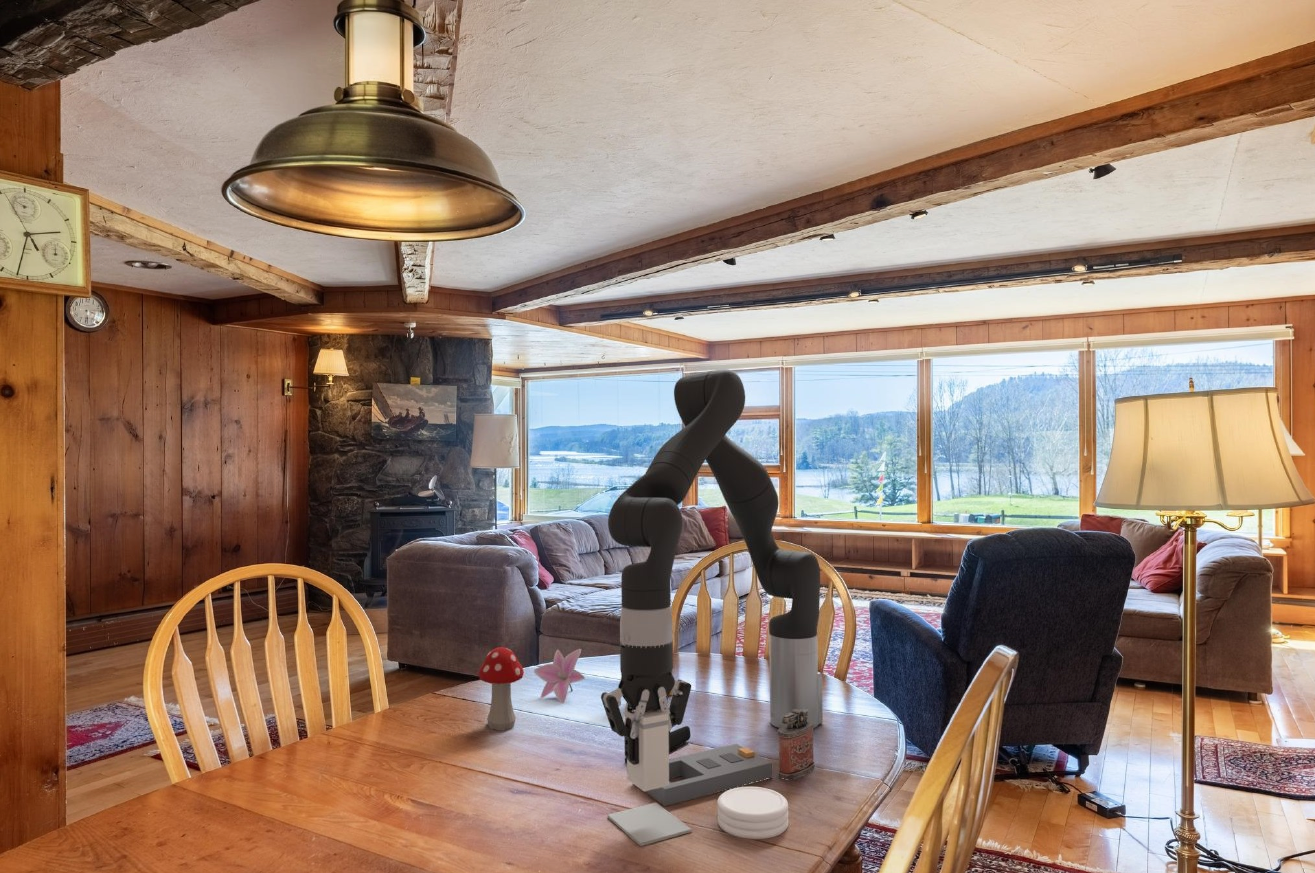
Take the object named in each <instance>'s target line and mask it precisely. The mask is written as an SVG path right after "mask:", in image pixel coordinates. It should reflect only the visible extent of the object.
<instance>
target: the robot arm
mask: <svg viewBox="0 0 1315 873" xmlns="http://www.w3.org/2000/svg"><path fill="white" fill-rule="evenodd" d="M673 397H674V398H673V399H674V403H675V407H676V408H675V409H676V411H677V413H678V415H679V418H680V419H681V421H682V423H683V425H684V427H683V428H682V429H681V430H679V431H678V432H677V433H675V434H674V435H673V436H671V437H670V438H669V439H668V440H667V441H666V442H665V443H664V444H663V445H662V446H661V447H660V448H659V450H658V451H657V452H656V454H655V455H654V458H653V459H652V461H651V462H650V464H649V466H648V468H647V469H646V472H645V473H644V474H643V475H641V476H640V477H639V478H638V479H636V480H635V481H634V482H633V483H632V484H630V486H629V487H628V488H627V489H625V490H624V491H623V492H622V493H621V494H620V495H619V496H618V498H617V499H616V500H615V501H614V503H613V504H612V507H611V508H610V511H609V514H608V519H607V526H608V527H607V528H608V532H609V534H610V536H611V539H612V540H613V541H614V542H615V543H617V544H619V545H620V546H624V547H625V546H626V547H640V548H641V547H642V548H643V547H644V548H650V552H649V554H648V556H647V559H646V560H645V561H642V562H636V563H632V564H628V565H626V566H625V567H624V568H623V569H622V572H621V580H620V581H621V584H620V585H621V588H620V589H621V590H620V591H621V611H620V619H619V620H620V621H619V644H620V645H619V657H620V658H619V660H620V662H619V664H620V665H619V666H620V667H619V668H620V676H621V677H620V680H619V683H618V686H617V688H616V689H614V690H612V691H610V692H606V691H605V692H602V693H601V695H600V699H601V702H602V705H603V708H604V710H605V714H606V717H607V718H606V719H607V720H608V724H609V727H610V729H611V731H612V732H614V733H616V734H617V735H618V736H620V737H624V757H625V758H626V759H628V761H629V762H630V763H632V764H633V765H636V764H639V738H638V737H637V736H638V732H639V722H640V720H641V717H642V716H644V713H645V712H647V711H649V710H660V712H662V713H663V712H666V713H668V720H669V724H668V727H669V753H670V752H671V751H670V732H672V731H671V730H672V728H673V727H675V726H676V725H677V726H680V725H682V723H683V721H684V717H685V713H686V710H687V706H688V702H689V698H690V695H691V690H692V685H691V683H689V682H687V681H685V680H682V679H675V677H674V675H673V669H674V641H673V640H674V638H673V637H674V629H673V628H674V627H673V626H674V625H673V623H674V622H673V614H672V606H671V602H672V598H671V592H672V591H671V578H672V572H673V571H672V570H673V566H674V562H675V557H676V554H677V549H678V546H679V543H680V539H681V534H682V530H683V516H682V512H681V509H680V508H679V505H680V504H681V503H682V502H683V501H684V500H685V498H686V497H687V495H688V492H689V491H690V489H691V487H692V485H693V483H694V481H695V479H696V478H697V475H698V473H699V471H700V470H701V469H702V468H701V467H702V465H703V464H704V463H705V462H707V465H708V467H709V469H710V471H711V473H712V475H713V476H714V479H715V480H716V483H717V485H718V488H719V489H720V492H721V494H722V498H723V499H724V501H725V504H726V505H727V507H728V509H729V511H730V513H731V515H732V516H733V518H734V520H735V523H736V525H737V527H738V529H739V531H740V534H741V536H742V538H743V541H744V542H745V545H746V548H747V550H748V553H749V555H750V556H749V557H750V559H751V562H752V564H753V568H754V570H755V574H756V576H757V578H758V581H759V583H760V586H761V587H762V589H763V591H764V592H765V593H766V594H768V595H769V596H772V597H775V598H782V599H789V600H792V601H791V608H790V610H789V611H788V612H786V613H783V614H778V615H776V616H775V615H774V616H773V617H771V618H770V619H769V621H768V622H769V623H768V634H769V635H768V640H769V642H768V645H769V646H768V648H769V649H768V650H769V651H768V652H769V703H770V705H769V710H770V712H769V715H770V716H769V717H770V718H769V719H770V721H769V722H770V724H771V725H772V726H774V727H776V728H778V729H779V728H781V727H782V726H784V725H787V724H782V717H783V715H786V714H788V713H791V712H792V710H793V709H796V710H801V709H807V710H808V717H807V720H810V721H813V722H814V728H813V729H815V728H817V727H818V726H819V725H820V724H822V723H823V722H824V721H823V717H824V714H823V712H824V711H823V675H822V672H819V671H818V670H819V668H818V667H819V665H818V664H819V662H818V656H819V654H818V624H819V618H820V602H821V601H820V599H821V596H820V595H821V594H820V593H821V569H820V563H819V560H818V558H817V557H816V555H815V554H813V553H812V552H809V551H798V550H788V549H787V550H785V549H781V548H780V547H779V546H778V545H777V543H776V541H775V539H774V538H775V537H774V536H773V531H772V530H773V527H774V523H775V520H776V517H777V514H778V510H779V496H778V493H777V490H776V488H775V485H774V484H773V481H772V479H771V476H770V474H769V473H768V472H769V471H768V470H767V468H766V467H765V466H764V465H763V464H762V462H761V461H759V459H757V457H755V456H753V455H752V454H751V453H749V452H748V451H747V450H745V449H744V448H742V447H741V446H740V445H738V444H737V443H735V441H733V440H731V439H730V438H729V436H727V433H728V432H729V431H730V429H731V428H732V427H733V426H734V425H735V424H736V423H737V421H738V420H739V419H740V417H741V416H742V413H743V412H744V409H745V405H746V391H745V386H744V383H743V380H742V379H741V377H740V376H739V374H738V373H736V371H734V370H732V369H729V368H727V369H726V368H724V369H723V368H720V369H715V370H709V371H703V372H699V373H693V374H688V375H685V376H682V377H680V378H678V380H677V381H676V382H675V385H674V388H673ZM671 690H672V693H673V694H672V696H671V700H670V703H669V704H668V698H669V694H670V692H671ZM622 697H623V698H622ZM622 699H624V700H625V702H626V703H625V707H624V711H623V712H624V713H623V714H624V718H623V716H622V712H621V710H620V707H621V705H622ZM634 710H635V713H633V711H634Z"/></svg>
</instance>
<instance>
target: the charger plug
mask: <svg viewBox="0 0 1315 873" xmlns="http://www.w3.org/2000/svg"><path fill="white" fill-rule="evenodd" d="M633 713H635V710H634V711H633ZM668 724H669V720H668V713H666V712H663V713H662V712H660V710H649V711H647V712H645V713H644V716H642V717H641V720H640V722H639V732H638V736H637V737H638V738H639V764H636V765H633V764H632V763H630V762H629V761H628V759H627V763H626V771H627V772H626V774H627V775H626V776H627V777H626V779H627V780H628V781H629V782H631V784H633V785H634V786H636V787H638V789H640V790H641V791H643V792H645V791H648V790H653V789H657V788H661V787H665V786H669V782H670V779H669V759H670V755H669V754H670V752H669V727H668Z"/></svg>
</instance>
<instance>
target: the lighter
mask: <svg viewBox="0 0 1315 873" xmlns="http://www.w3.org/2000/svg"><path fill="white" fill-rule="evenodd" d="M807 717H808V710H807V709H801V710H796V709H793V710H792V712H791V713H788V714H786V715H783V717H782V724H787V725H784V726H782V727H781V728H778V729H777V736H778V749H779V750H778V756H779V757H778V758H779V759H778V761H779V765H778V766H779V769H778V774H777V775H779V777H780V778H784V779H788V780H787V781H792V780H791V779H793V780H795V779H794V778H796V779H799V778H801V776H802V777H804V776H807V775H808V774H809V772H810V771H811V772H813V771H814V770H815V769H816V763H815V761H814V729H815V728H814V722H813V721H810V720H807ZM814 768H815V769H814ZM813 769H814V770H813ZM811 772H810V773H811ZM807 773H808V774H807ZM779 777H778V778H779ZM798 777H799V778H798ZM780 778H779V779H780Z"/></svg>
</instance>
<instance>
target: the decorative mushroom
mask: <svg viewBox="0 0 1315 873" xmlns="http://www.w3.org/2000/svg"><path fill="white" fill-rule="evenodd" d="M524 673H525V672H524V667H523V666H522V664H521V663H520V661H519V659H518V658H517V655H516V654H515V653H514V652H513V651H512V650H511V649H509V648H507V647H502V646H501V647H496V648H494V649H491V650H490V651H489V652H488V654H487V655H486V656H485V659H484V661H483V662H482V664H481V666H480V667H479V670H478V677H479V680H481V681H482V682H484V683H487V684H491V701H490V707H489V713H488V715H487V719H486V720H487V723H488V727H489V728H490V729H491V730H494V729H495V730H496V731H506V730H511V729H512V728H514V726H515V722H516V719H517V718H516V714H515V711H514V709H513V707H514V706H513V703H512V689H511V688H512V687H511V686H512V685H511V684H513V683H515V682H517V681H520V680H521V679H523V676H524ZM495 730H494V731H495Z"/></svg>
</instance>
